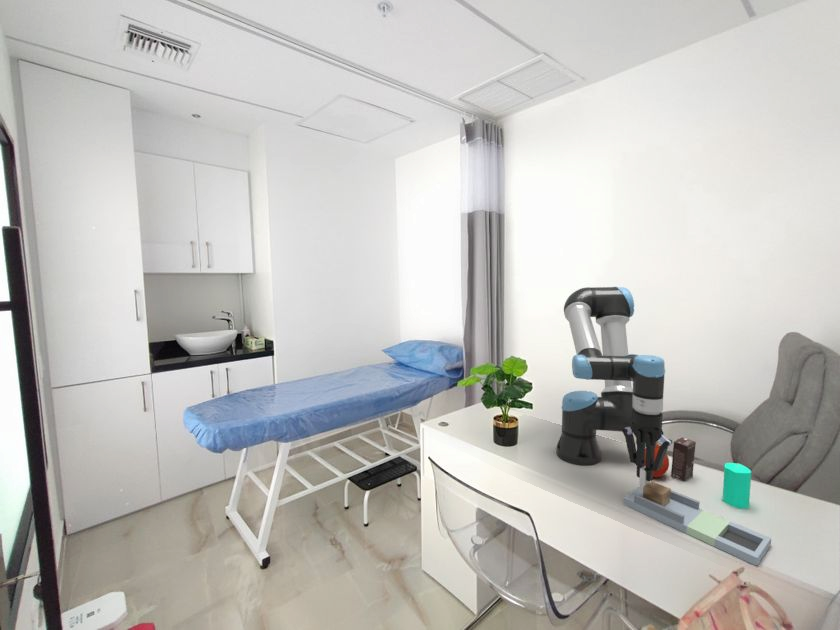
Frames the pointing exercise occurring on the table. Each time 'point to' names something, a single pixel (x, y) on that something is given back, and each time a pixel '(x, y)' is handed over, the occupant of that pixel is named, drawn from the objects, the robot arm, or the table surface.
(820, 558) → the table surface
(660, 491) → the block
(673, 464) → the box
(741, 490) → the candle
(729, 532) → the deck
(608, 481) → the table surface
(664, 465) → the apple
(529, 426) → the table surface
